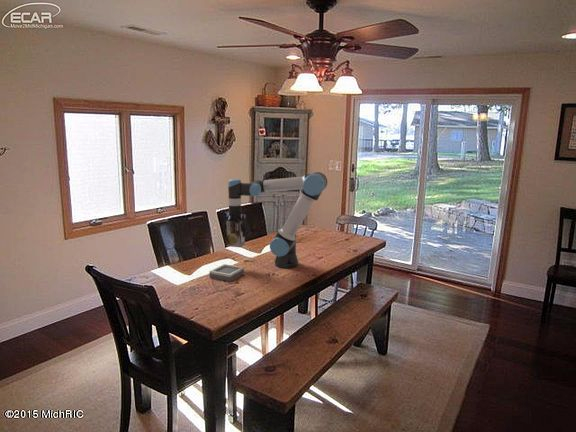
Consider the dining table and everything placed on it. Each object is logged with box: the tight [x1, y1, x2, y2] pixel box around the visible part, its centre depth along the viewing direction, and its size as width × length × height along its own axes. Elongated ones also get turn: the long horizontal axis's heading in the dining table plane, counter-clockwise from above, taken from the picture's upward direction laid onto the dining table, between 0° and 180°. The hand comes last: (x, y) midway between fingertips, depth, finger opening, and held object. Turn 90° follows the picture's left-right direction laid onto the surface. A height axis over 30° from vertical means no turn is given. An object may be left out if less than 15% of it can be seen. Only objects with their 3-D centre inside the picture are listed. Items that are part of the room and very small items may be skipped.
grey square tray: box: [209, 263, 245, 282], centre depth 242 cm, size 14×15×4 cm
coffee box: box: [226, 219, 245, 248], centre depth 254 cm, size 9×6×16 cm
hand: (235, 240), depth 255 cm, fingers closed on coffee box, 9 cm apart
